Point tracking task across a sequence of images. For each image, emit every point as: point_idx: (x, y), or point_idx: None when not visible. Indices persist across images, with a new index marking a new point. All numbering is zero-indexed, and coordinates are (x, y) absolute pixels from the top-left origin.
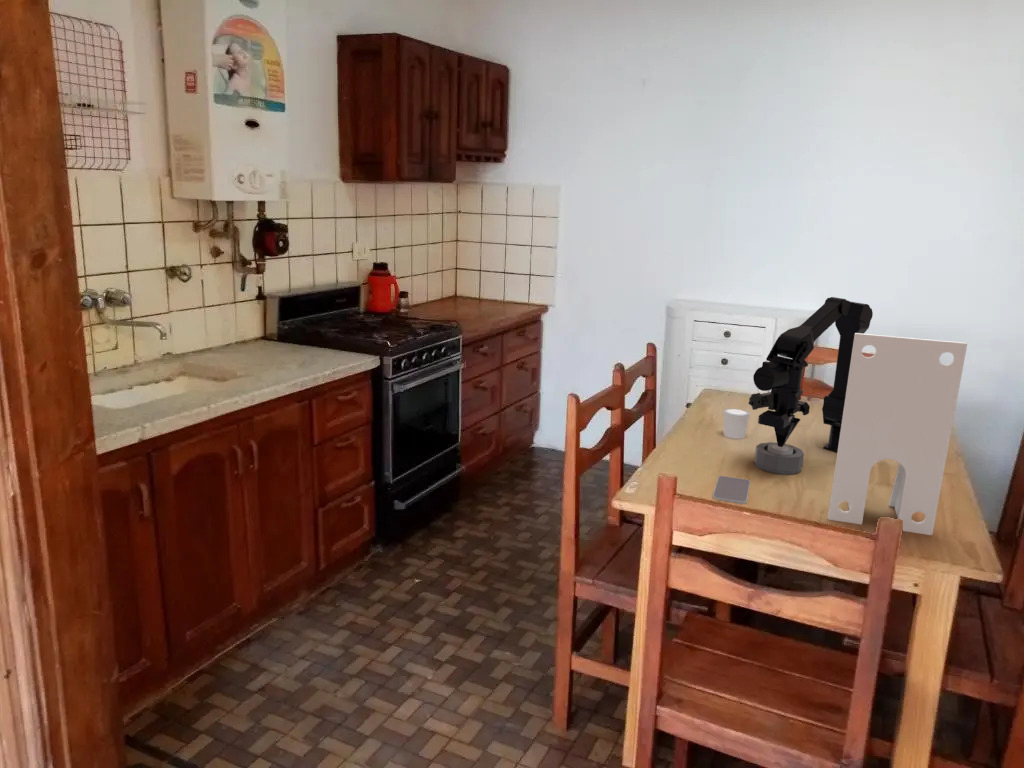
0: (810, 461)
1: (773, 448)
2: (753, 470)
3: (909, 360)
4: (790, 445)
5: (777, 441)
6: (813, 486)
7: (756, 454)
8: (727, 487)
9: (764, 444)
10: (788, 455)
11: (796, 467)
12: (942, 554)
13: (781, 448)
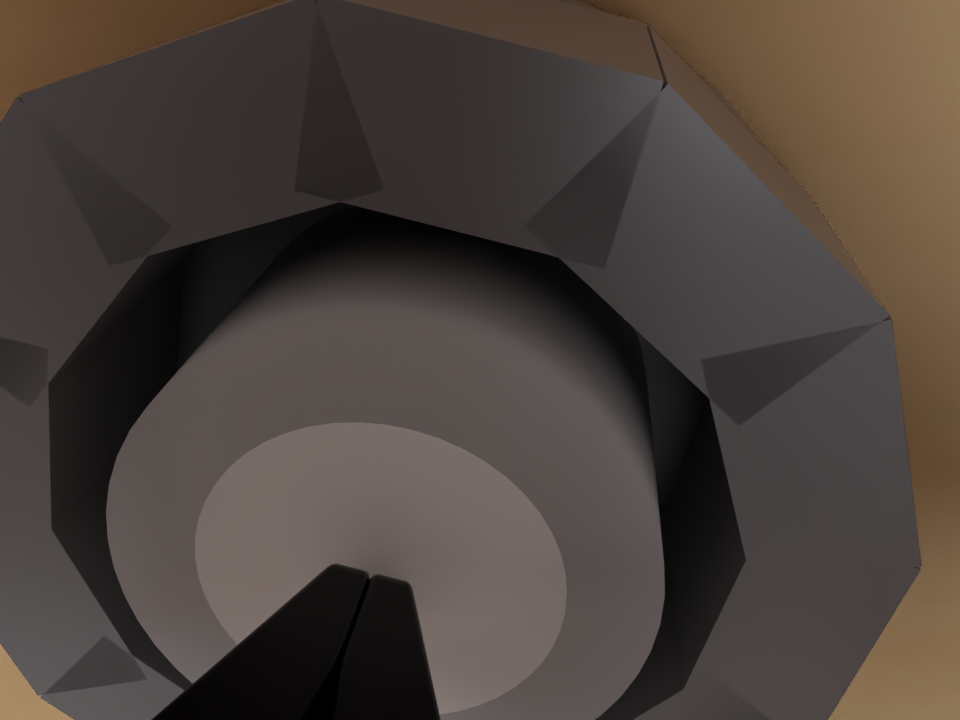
0: (935, 713)
1: (226, 458)
2: (15, 15)
3: None
4: (809, 706)
5: (252, 637)
6: (27, 717)
7: (198, 31)
8: None
9: (605, 197)
10: (133, 676)
11: None
12: None
13: None
